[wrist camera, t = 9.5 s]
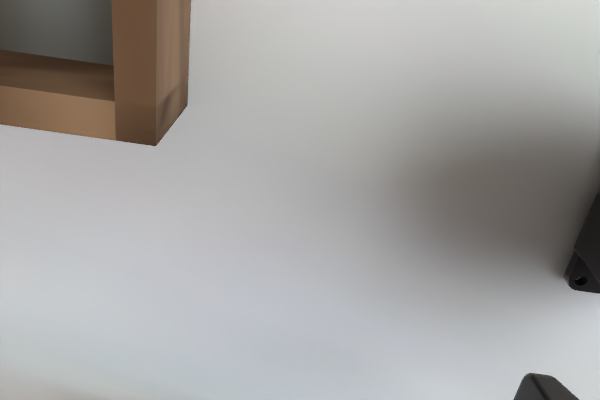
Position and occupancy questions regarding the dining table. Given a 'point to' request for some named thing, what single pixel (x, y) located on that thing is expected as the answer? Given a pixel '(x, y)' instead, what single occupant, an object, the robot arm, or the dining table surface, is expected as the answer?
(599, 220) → the robot arm
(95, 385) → the dining table surface
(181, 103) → the arena
